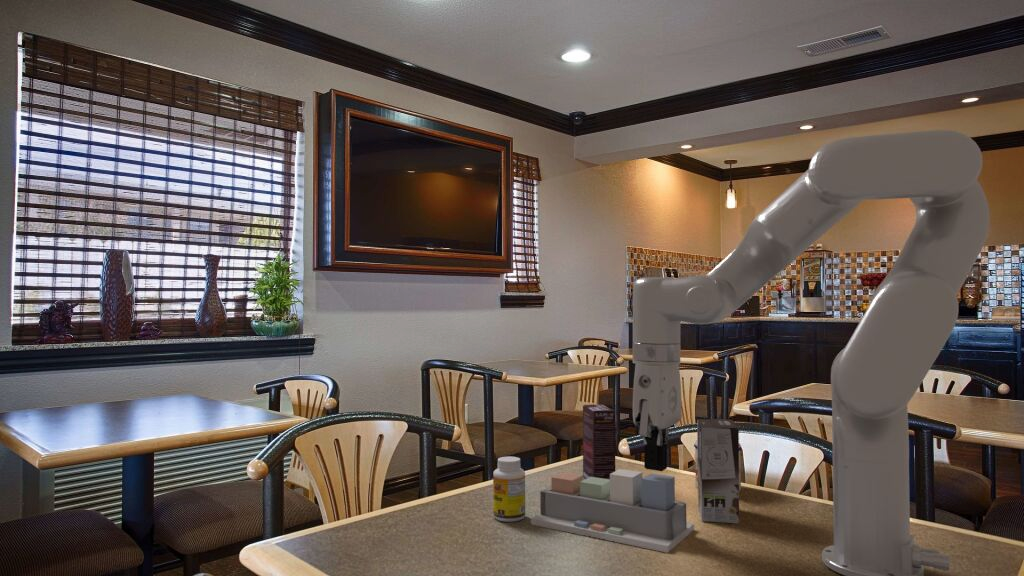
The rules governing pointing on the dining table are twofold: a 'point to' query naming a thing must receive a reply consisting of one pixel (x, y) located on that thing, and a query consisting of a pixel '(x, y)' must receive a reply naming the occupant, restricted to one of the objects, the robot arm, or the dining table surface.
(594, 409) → the supplement box
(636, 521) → the grey block holder
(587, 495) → the key
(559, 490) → the pink block
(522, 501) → the supplement bottle
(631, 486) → the key
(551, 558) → the dining table surface
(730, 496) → the coffee box
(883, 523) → the robot arm
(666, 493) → the blue-grey block
